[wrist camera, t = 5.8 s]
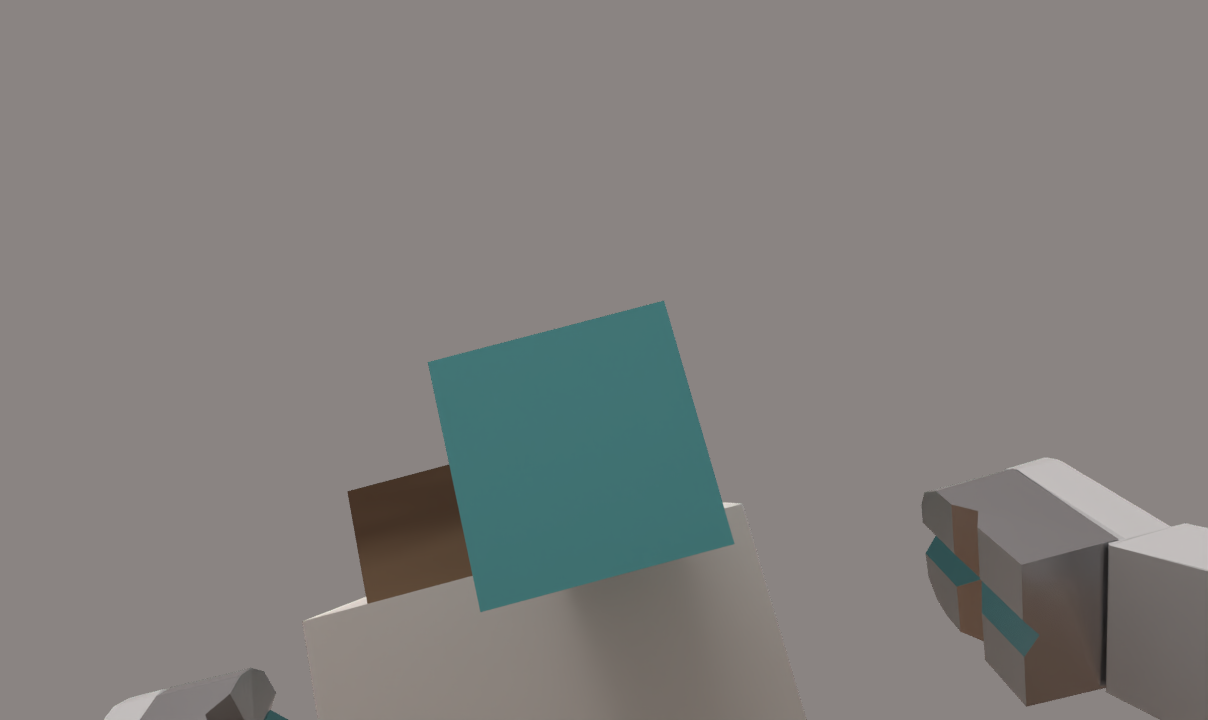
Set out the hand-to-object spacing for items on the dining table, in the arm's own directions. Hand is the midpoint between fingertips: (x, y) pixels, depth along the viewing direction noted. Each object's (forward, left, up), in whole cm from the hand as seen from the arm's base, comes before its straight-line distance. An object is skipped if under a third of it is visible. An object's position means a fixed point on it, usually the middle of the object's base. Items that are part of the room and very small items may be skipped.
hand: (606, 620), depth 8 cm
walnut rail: (-16, +4, 0) cm, 17 cm away
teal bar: (-11, +7, 0) cm, 13 cm away
